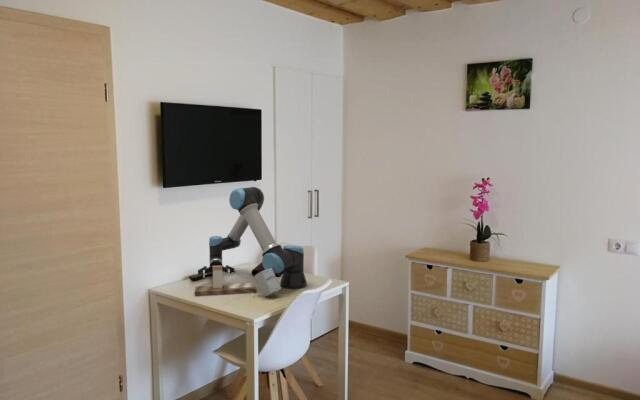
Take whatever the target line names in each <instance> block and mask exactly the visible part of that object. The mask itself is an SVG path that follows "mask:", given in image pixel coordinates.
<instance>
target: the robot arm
mask: <svg viewBox="0 0 640 400" xmlns="http://www.w3.org/2000/svg"><path fill="white" fill-rule="evenodd" d="M228 200H229V205H230V207H231V208H232V209H233V210H236V211H238V213H239V216H238V218H237V219H236V221H235V223H234V225H233V226H232V228H231V230H230V232H229V233H228V235H227V236H225V237H222V236H221V235H212V236H210V237H209V240H208V241H209V242H208V244H209V247H208V248H209V266H208V267H207V266H206V265H204V266H203V267H202V268H199V269H197V275H201V276H202V278H203V279H204V278H206V277H205V276H206V274H209V273H210V274H211V273H212V274H213V266H220V265H222V273H227V275H228V277H230V275H232V274H235V267H233V266H229V265H228V264H227V265H225V266H224V265H223V251H227V250H231V249H235V248H238V247H240V246H241V242H242V241H241V238H242V236H243V235H244V233H245V232H246V230H247V229H248V227H249V228H250V230H251V231H252V234H253V236H254V237H255V239H256V242H258V245H259V247H260V248H261V250H262V253H261V256H262V259H261V262H262V261H263V262H262V264H263V267H264V269H265V270H267V269H269V268H272V269H273V272H274V274H276V273H281V272H283V274H282V275H281V278H280V282H279V285H280V288H284V289H289V290H297V289H302V288H303V289H304V288H305V287H307V285H308V284H307V279H306V275H305V273H304V270H305V269H304V267H305V265H304V261H305V259H304V256H305V255H304V254H305V253H304V252H305V251H304V248H303V247H302V246H298V245H291V244H290V245H288V244H287V245H284V246H283V247H282V245H281V244H280V243H279V244H278V243H277V242H276V240H275V238H274V236H273V235H272V233H271V231H270V229H269V227H268V226H267V223H266V221H265V219H264V218H263V216H262V215H261V213H260V211H261V209H262V207H263V204H264V202H265V195H264V192H263V191H262V189H260V188H258V187H256V186H250V187H249V186H248V187H243V188H242V187H240V188H238V187H237V188H235V189H233V190H232V191H231V193H230V195H229V198H228Z"/></svg>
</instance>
